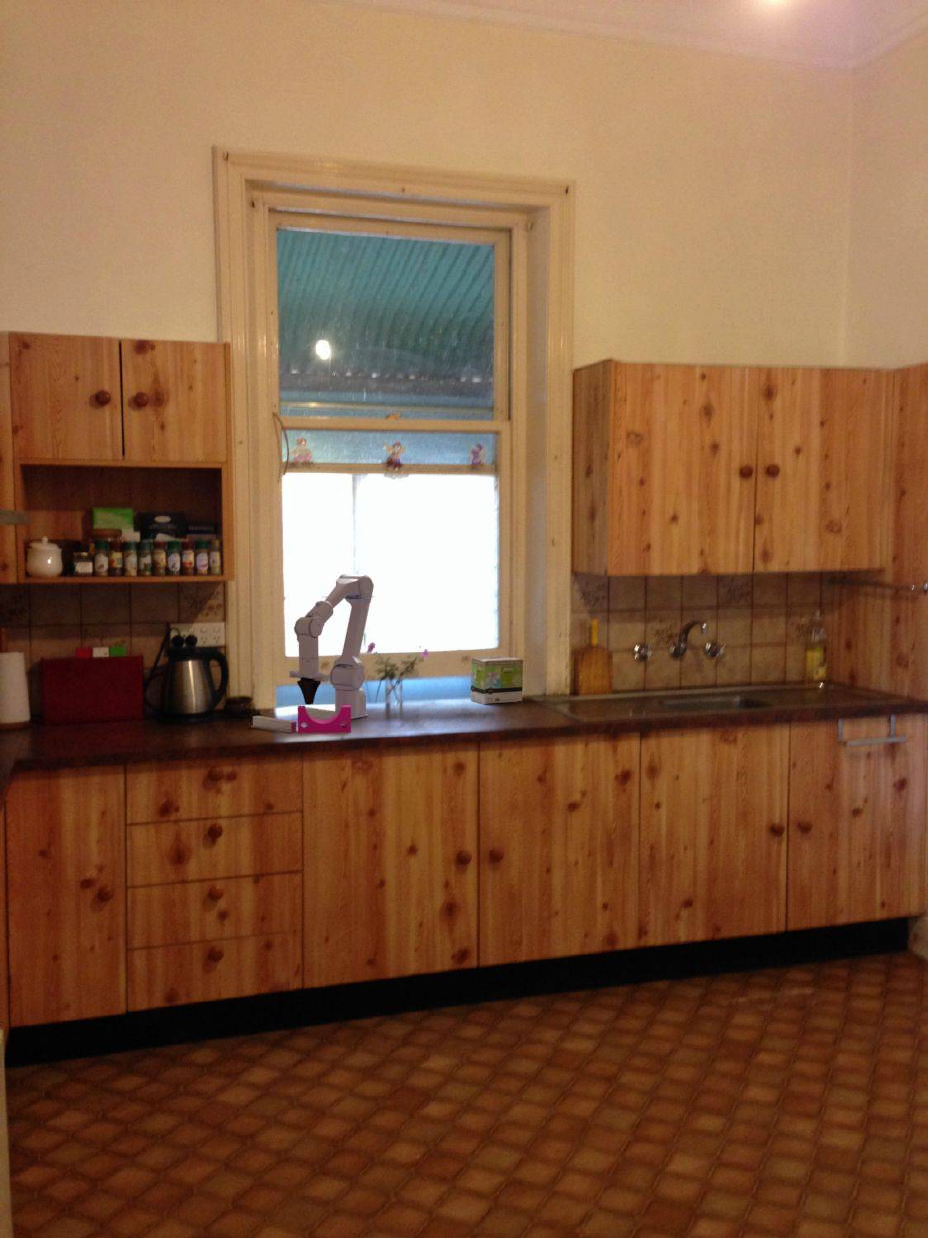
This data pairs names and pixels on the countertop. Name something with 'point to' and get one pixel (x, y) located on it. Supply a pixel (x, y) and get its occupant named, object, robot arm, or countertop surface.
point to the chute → (287, 725)
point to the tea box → (496, 680)
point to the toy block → (325, 722)
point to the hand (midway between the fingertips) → (309, 704)
